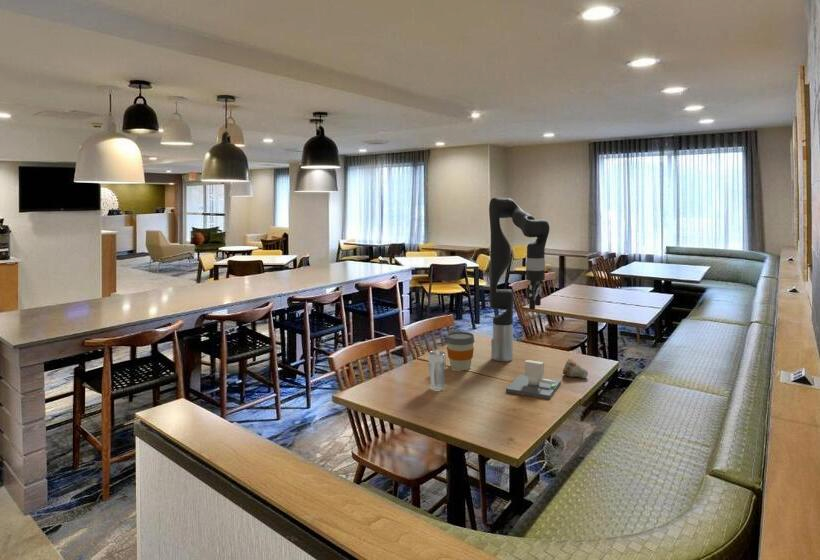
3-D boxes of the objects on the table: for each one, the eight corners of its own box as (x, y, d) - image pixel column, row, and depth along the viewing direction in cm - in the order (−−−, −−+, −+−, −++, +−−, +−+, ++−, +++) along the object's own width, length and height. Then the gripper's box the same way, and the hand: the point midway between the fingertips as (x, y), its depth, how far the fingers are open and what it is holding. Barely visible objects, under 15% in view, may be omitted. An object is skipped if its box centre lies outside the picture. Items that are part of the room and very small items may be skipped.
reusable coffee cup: (462, 361, 242) (462, 330, 240) (480, 368, 232) (480, 335, 229) (441, 366, 235) (440, 334, 233) (458, 374, 225) (458, 340, 223)
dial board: (506, 392, 203) (506, 386, 202) (519, 377, 218) (519, 372, 218) (549, 399, 195) (549, 392, 194) (560, 383, 210) (560, 377, 210)
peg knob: (523, 384, 206) (523, 362, 205) (527, 380, 210) (527, 359, 208) (549, 388, 201) (549, 365, 199) (552, 384, 205) (552, 362, 203)
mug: (587, 382, 212) (575, 361, 212) (567, 387, 219) (555, 367, 219) (593, 372, 218) (581, 352, 217) (573, 378, 224) (562, 358, 224)
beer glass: (427, 386, 211) (427, 350, 209) (444, 385, 212) (444, 349, 210) (429, 392, 205) (429, 355, 202) (447, 391, 205) (446, 354, 203)
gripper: (540, 271, 204) (539, 311, 207) (549, 266, 216) (548, 304, 219) (521, 270, 208) (521, 310, 210) (531, 266, 220) (530, 303, 223)
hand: (535, 307), depth 215 cm, fingers open, 8 cm apart
